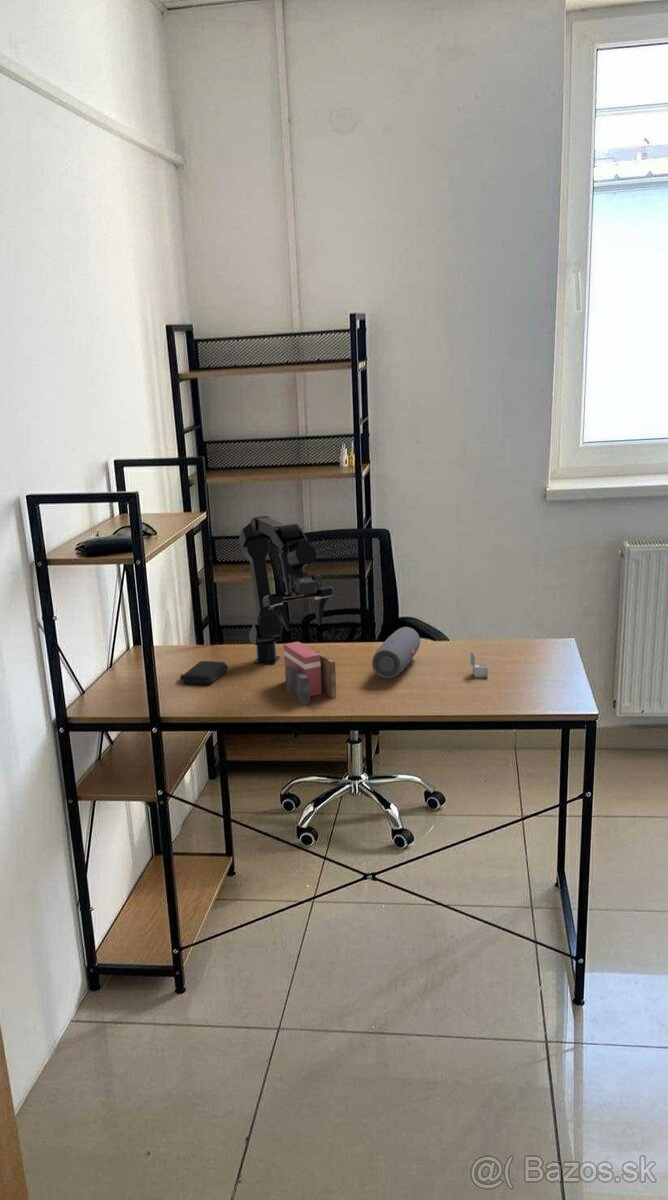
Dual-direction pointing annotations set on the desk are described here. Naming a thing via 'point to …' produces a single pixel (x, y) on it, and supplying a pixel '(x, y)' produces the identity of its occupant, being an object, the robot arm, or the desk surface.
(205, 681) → the carrying case or bag
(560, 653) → the desk surface
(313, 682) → the book
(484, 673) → the architectural model
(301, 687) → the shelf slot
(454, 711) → the desk surface
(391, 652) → the bluetooth speaker
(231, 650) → the desk surface
